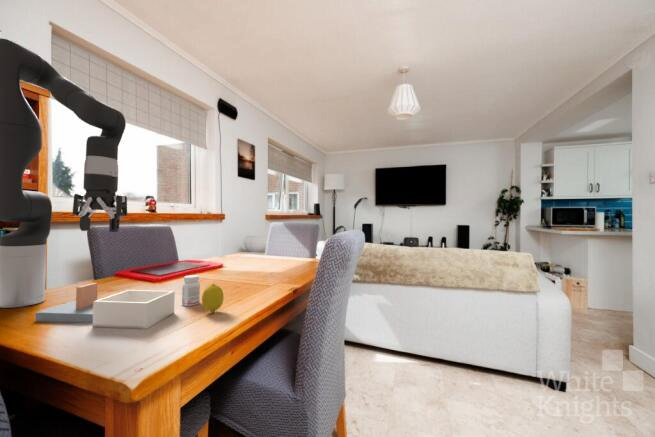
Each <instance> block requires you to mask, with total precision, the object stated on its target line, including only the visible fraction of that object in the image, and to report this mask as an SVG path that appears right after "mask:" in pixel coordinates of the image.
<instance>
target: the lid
mask: <svg viewBox="0 0 655 437" xmlns="http://www.w3.org/2000/svg"><path fill="white" fill-rule="evenodd" d="M75 290H76V291H75V294H76V295H75V300H72V301H69V302H66V303H62V304H59V305H56V306H53V307H49V308H46V309H44V310H39V311H37V312H35V322H50V323H51V322H52V323H53V322H56V323H82V324H83V323H85V324H86V323H87V324H93V301H96V300H99V299H100V298H98V282H91V283H87V284H84V285H79V286H76V287H75Z"/></svg>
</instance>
